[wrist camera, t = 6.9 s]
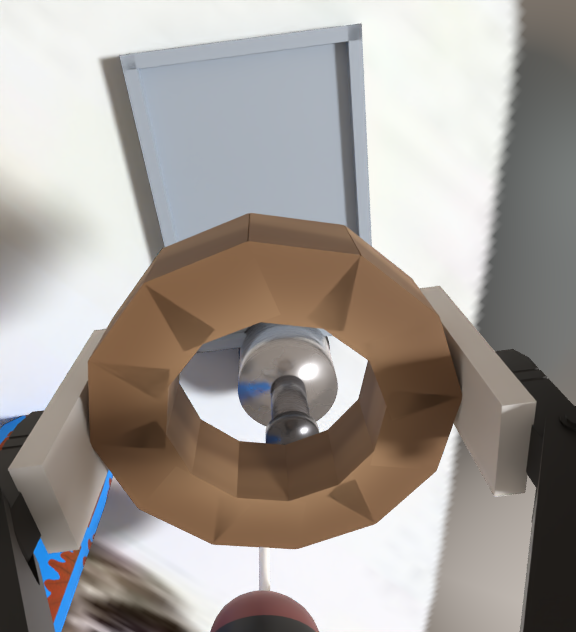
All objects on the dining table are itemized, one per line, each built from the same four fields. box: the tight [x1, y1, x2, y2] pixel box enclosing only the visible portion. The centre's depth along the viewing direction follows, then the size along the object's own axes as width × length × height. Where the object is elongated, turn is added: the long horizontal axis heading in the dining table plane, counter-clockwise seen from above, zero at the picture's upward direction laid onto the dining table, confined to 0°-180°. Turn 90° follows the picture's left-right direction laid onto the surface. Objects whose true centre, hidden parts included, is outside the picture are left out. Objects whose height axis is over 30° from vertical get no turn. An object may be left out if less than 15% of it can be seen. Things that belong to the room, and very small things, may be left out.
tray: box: [119, 24, 372, 353], centre depth 34 cm, size 14×20×2 cm
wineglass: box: [211, 547, 319, 632], centre depth 37 cm, size 8×9×20 cm
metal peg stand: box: [238, 322, 338, 445], centre depth 35 cm, size 7×7×11 cm
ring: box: [88, 213, 462, 549], centre depth 15 cm, size 10×10×2 cm
